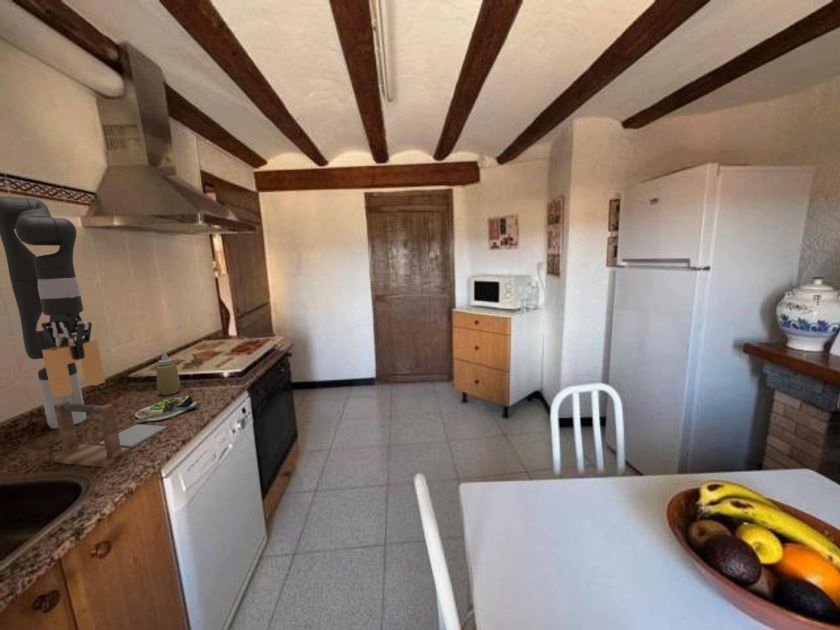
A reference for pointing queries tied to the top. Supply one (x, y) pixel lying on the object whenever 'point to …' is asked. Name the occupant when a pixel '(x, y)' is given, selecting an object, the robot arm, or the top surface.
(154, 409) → the salad plate
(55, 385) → the link
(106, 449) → the stand
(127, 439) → the mat
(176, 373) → the squeeze bottle
